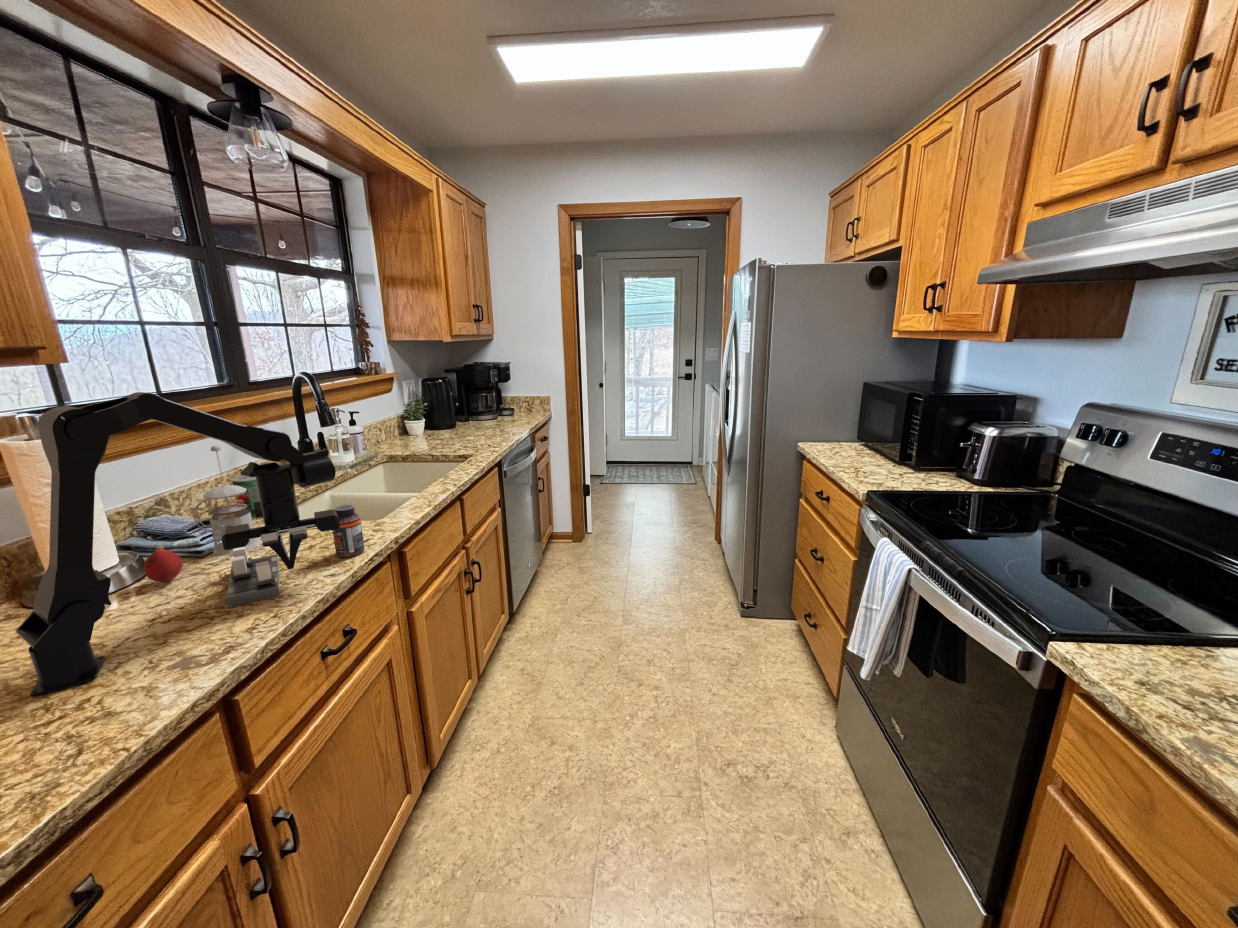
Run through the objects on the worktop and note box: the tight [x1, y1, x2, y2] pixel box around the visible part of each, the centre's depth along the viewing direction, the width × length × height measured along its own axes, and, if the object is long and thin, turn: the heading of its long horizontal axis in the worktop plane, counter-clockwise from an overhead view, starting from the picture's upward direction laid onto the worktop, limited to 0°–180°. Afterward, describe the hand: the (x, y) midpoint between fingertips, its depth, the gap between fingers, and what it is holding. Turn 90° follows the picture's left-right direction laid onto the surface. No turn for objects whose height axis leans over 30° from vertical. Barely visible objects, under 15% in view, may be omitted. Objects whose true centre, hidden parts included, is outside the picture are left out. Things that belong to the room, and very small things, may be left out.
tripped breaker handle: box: [256, 561, 275, 586], centre depth 96 cm, size 3×3×4 cm
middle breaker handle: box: [230, 556, 251, 580], centre depth 99 cm, size 3×3×4 cm
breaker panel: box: [226, 553, 281, 609], centre depth 101 cm, size 18×8×2 cm, turn 35°
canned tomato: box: [231, 475, 260, 519], centre depth 141 cm, size 8×8×11 cm
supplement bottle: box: [331, 504, 365, 559], centre depth 114 cm, size 6×6×11 cm
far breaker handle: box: [232, 547, 252, 566], centre depth 104 cm, size 3×3×4 cm
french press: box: [192, 445, 263, 556], centre depth 116 cm, size 10×12×25 cm
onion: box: [143, 545, 184, 584], centre depth 101 cm, size 6×6×8 cm
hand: (291, 568), depth 99 cm, fingers closed
